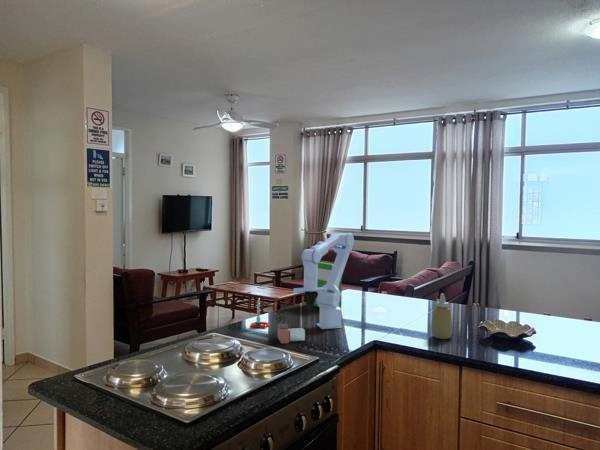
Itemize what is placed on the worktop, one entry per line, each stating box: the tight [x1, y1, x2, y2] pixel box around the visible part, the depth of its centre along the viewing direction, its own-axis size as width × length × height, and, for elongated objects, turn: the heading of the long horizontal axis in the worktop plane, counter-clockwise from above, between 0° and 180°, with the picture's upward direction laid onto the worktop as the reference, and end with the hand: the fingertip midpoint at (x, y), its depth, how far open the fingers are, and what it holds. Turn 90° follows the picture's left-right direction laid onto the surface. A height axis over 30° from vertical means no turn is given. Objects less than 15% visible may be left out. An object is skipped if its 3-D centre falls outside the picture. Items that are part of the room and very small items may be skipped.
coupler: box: [277, 323, 291, 344], centre depth 172 cm, size 8×8×6 cm
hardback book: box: [313, 260, 343, 310], centre depth 234 cm, size 18×7×24 cm, turn 36°
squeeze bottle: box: [431, 293, 453, 340], centre depth 177 cm, size 8×8×18 cm
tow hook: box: [250, 298, 271, 329], centre depth 193 cm, size 8×13×9 cm
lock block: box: [288, 327, 306, 342], centre depth 172 cm, size 6×4×4 cm, turn 103°
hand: (309, 309), depth 181 cm, fingers closed
